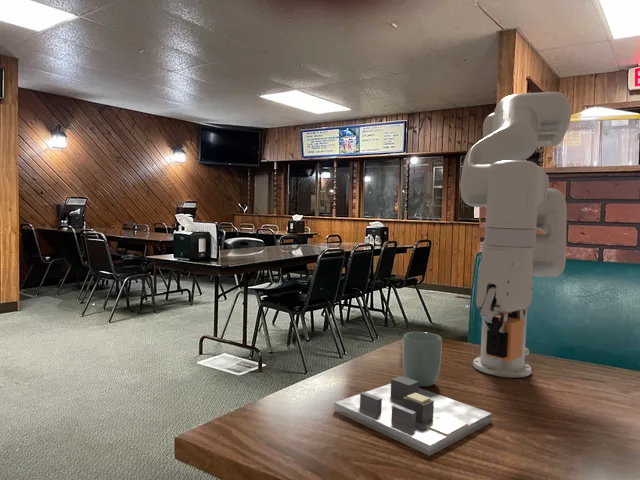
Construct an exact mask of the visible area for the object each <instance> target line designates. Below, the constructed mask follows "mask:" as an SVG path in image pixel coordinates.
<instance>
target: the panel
mask: <svg viewBox="0 0 640 480" xmlns="http://www.w3.org/2000/svg"><path fill="white" fill-rule="evenodd" d="M418 394H421V395H423V396H426V397H429V398H430V400H433V401H434V409H433V419H431V420H429V421H427V422H425V423H423V424H422V423H419V422H417V421H416V412H414V411H412V410H409V409H407V408H404V407H403V400H402V399H399V398H397V397H394V396H392V395H391V383H388V384H386V385H383V386H379V387H376V388H373V389H370V390H368V391H363V392H360V393H358V394H355V395H353V396H352V395H351V396H350V397H346V398H344V399H340V400H338V401H334V412H335V413H338V414H339V415H342V416H343V417H346V418H347V419H350V420H352V421H355V422H357V423H358V424H361V425H362V426H364V427H367V428H369V429H371V430H374V431H375V432H378V433H380V434H382V435H384V436H386V437H389V438H391V439H393V440H394V441H397V442H399V443H401V444H403V445H405V446H408V447H410V448H411V449H413V450H416V451H418V452H420V453H423V454H424V455H427V456H432V455H434V454H435V453H438V452H439V451H442V450H443V449H445V448H447V447H449V446H451V445H453V444H455V443H456V442H458V441H460V440H462V439H463V438H465V437H467V436H469V435H471V434H473V433H474V432H476V431H478V430H480V429H482V428H483V427H486V426H488V425H489V424H491V423H492V422H493V421H492V419H493V417H492V416H493V413H492V412H489V411H486V410H484V409H481V408H478V407H476V406H472V405H469V404H466V403H464V402H460V401H457V400H455V399H452V398H449V397H446V396H443V395H441V394H437V393H435V392H431V390H430V391H429V390H426V389H423V388H421V387H419V391H418Z"/></svg>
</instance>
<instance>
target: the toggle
mask: <svg viewBox="0 0 640 480" xmlns="http://www.w3.org/2000/svg"><path fill="white" fill-rule="evenodd" d="M390 379H391V380H390V384H391V395H392V396H394V397H397V398H399V399H402V400H403V398H404V397H406V396H408V395H410V394H413V393H418V391H419V388H420V386H419V382H418V381H415V380H412V379H409V378H406V377H405V376H403V375H400V376H397V377H394V378H390Z"/></svg>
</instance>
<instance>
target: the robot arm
mask: <svg viewBox="0 0 640 480" xmlns="http://www.w3.org/2000/svg"><path fill="white" fill-rule="evenodd" d="M493 111H494V112H492V113H490V114H489V115H487V117H485V119H484V121H483V124H482V136H483V138H482V139H480V140H479V141H478V142H476V143H475V144H473V146H471V148H470V149H469V150H468V151H467V153H466V155H465V157H464V161H463V164H462V169H461V176H460V181H459V183H460V184H459V191H460V197H461V199H462V201H463V203H465V204H466V205H468V206H469V207H473V208H485V209H486V210H485V227H484V240H483V242H482V244H481V260H480V266H479V271H478V281H477V290H476V302H475V303H476V308H477V309H478V310H480V313H479V314H480V317H481V318H482V319H481V335H480V336H481V340H480V341H481V342H480V356H478V357H475V358H474V359H473V360H472V361H473V362H472V366H473V367H474V369H476V370H478V371H480V372H481V373H484V374H487V375H491V376H495V377H501V378H512V379H513V378H514V379H515V378H517V379H518V378H526V377H528V376H530V375H531V374H532V367H531V366H530V365H529V364H528V363H526V362H525V359H526V358H525V357H526V356H529V354H530V349H529V348H528V347H526V342H527V341H526V340H527V339H526V337H527V323H528V322H527V321H528V319H527V318H528V308H529V307H530V305H531V304H532V299H533V286H534V277H539V278H541V277H542V278H555V277H559V276H560V275H562V274H563V272H564V270H565V268H566V262H567V200H566V198H565V195H564V194H563V192H562V191H560V190H558V189H557V188H553V187H552V188H550V178H549V175H548V174H547V173H546V172H545V170H544V168H543V167H542V166H540V165H538V164H537V163H535V162H533V161H529V160H526V159H529V158H530V157H531V156H532V155H533V154H534V153H535V151H537V148H543V147H544V148H547V147H548V148H549V147H556V146H558V145H560V144H561V142H562V141H564V137H565V136H566V134H567V131H568V129H569V127H570V123H571V118H572V107H571V104H570V101H569V99H568V97H567V96H566V95H565V94H564V93H562V92H559V91H546V92H545V91H544V92H542V91H541V92H526V93H525V92H524V93H515V94H514V93H513V94H511V95H508V96H505V97H503V98H502V99H501V100H499V101H498V103H497V104H496V107H495V108H494V110H493ZM537 230H539V231H540V232H541V233H537ZM495 316H501V319H500V321H499V319H498V317H495ZM508 317H511V318H517V319H522V320H523V338H522V356H521V357H519V358H517V359H514V360H512V361H506V360H502V359H498V358H495V357H491V356H487V355H486V352H487V354H489V355H493V356H497V357H500V358H506V357H507V345H508V333H506V332H505V331H506V325H507V318H508ZM486 342H487V347H486Z"/></svg>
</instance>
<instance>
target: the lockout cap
mask: <svg viewBox="0 0 640 480" xmlns="http://www.w3.org/2000/svg"><path fill="white" fill-rule="evenodd" d="M495 317H498V319H499V321H500V319H501V316H495ZM505 332H506V333H508V345H507V357H506V358H500V357H497V356H493V355H489V354H487V352H486V355H487V356H491V357H495V358H498V359H502V360H506V361H512V360H514V359H517V358H519V357H521V356H522V338H523V320H522V319H517V318H511V317H508V318H507V325H506V331H505ZM486 347H487V342H486Z"/></svg>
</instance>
